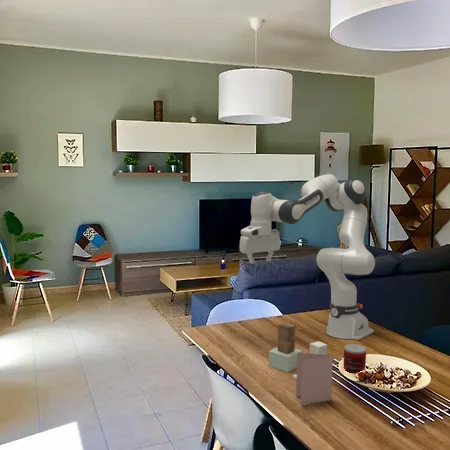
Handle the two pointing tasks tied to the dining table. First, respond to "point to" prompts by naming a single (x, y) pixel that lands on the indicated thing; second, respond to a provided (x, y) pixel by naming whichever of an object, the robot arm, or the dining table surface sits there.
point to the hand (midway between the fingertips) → (260, 262)
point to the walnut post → (286, 338)
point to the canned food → (354, 358)
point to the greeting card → (314, 377)
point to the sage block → (283, 360)
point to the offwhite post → (318, 348)
